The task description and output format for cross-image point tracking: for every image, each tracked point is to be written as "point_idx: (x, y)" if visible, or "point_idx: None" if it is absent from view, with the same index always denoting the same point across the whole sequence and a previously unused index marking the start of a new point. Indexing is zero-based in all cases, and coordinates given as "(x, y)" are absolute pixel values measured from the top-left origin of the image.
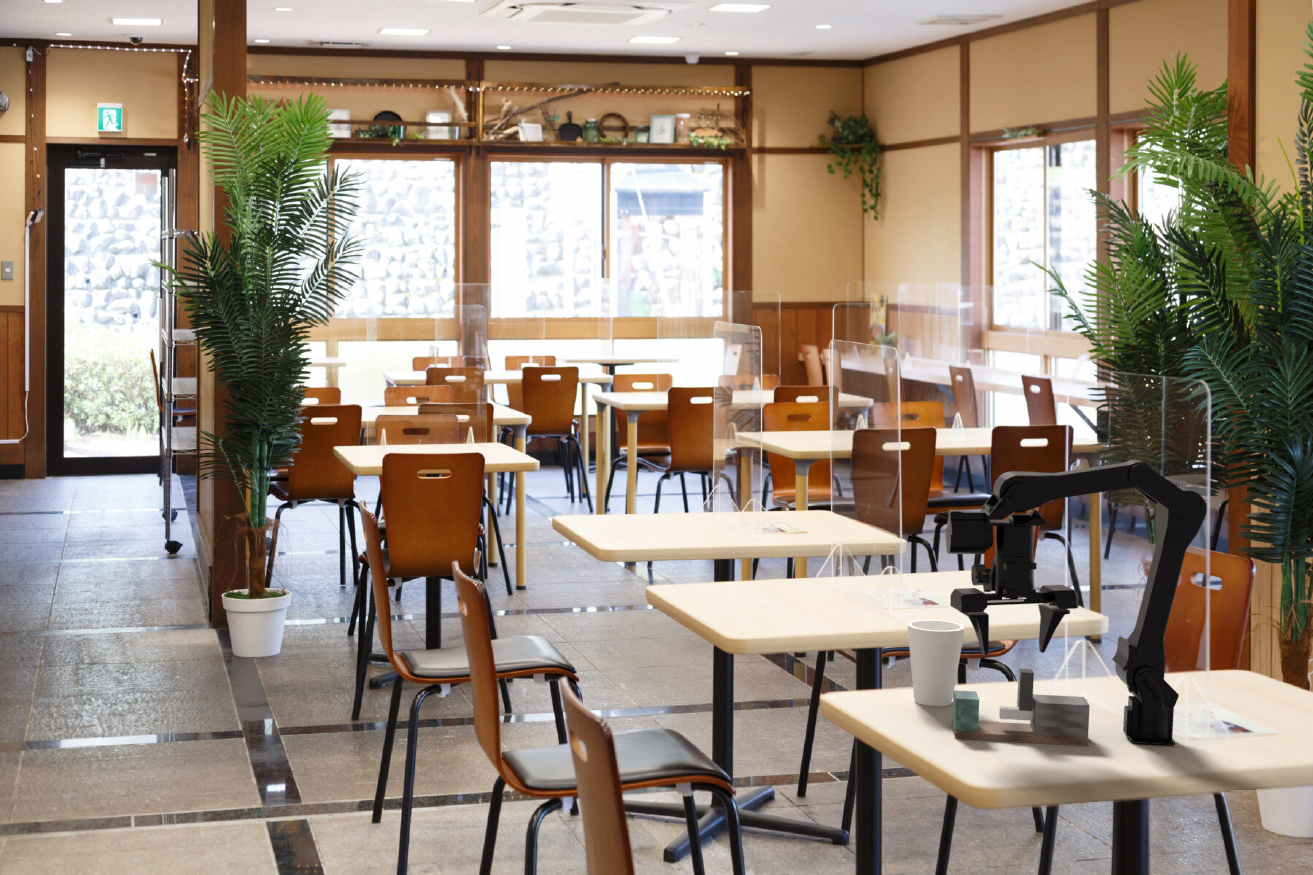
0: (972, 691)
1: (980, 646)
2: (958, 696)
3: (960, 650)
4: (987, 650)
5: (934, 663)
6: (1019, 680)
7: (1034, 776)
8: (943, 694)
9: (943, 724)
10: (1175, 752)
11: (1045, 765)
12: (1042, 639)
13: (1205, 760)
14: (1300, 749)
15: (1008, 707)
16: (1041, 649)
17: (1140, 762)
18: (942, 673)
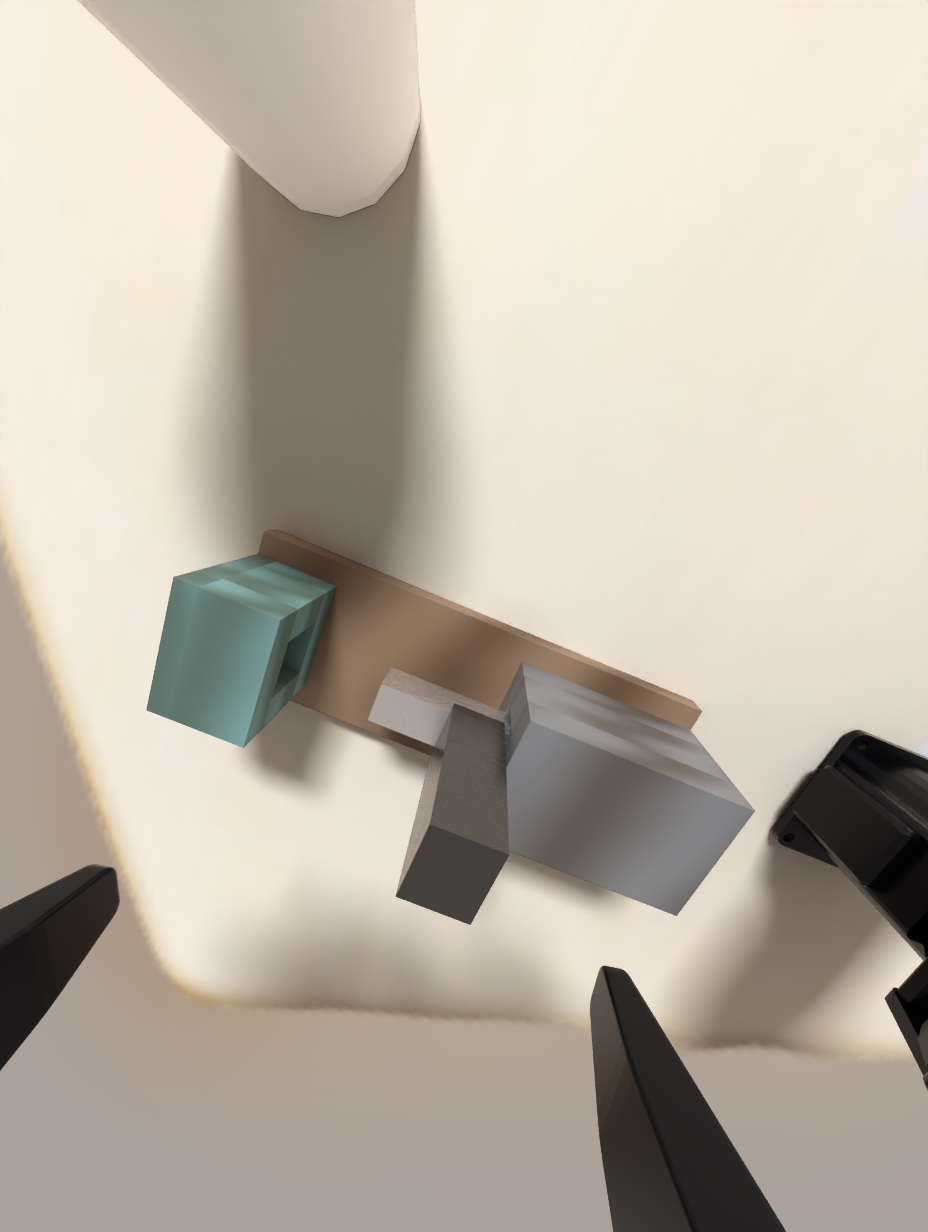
0: (260, 618)
1: (9, 913)
2: (167, 681)
3: None
4: (78, 960)
5: (120, 32)
6: (417, 825)
7: (329, 963)
8: (319, 189)
9: (252, 505)
10: (830, 916)
11: (395, 913)
12: (623, 1178)
13: (851, 980)
14: None
15: (408, 710)
16: (597, 1024)
17: (659, 952)
18: (239, 107)
